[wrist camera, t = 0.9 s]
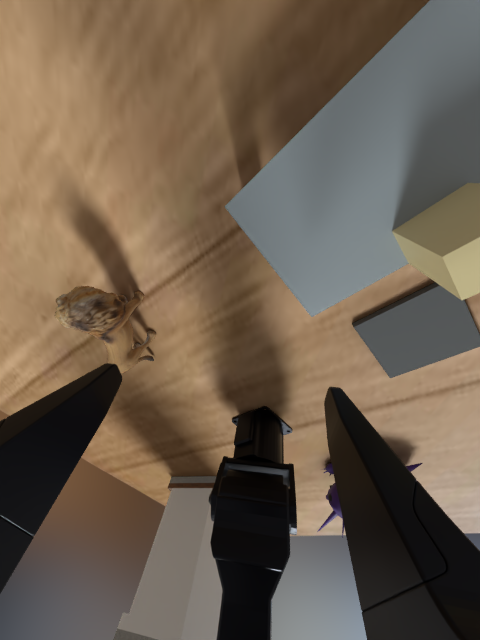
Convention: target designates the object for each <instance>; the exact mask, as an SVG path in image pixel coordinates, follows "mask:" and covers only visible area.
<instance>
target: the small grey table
mask: <svg viewBox="0 0 480 640" xmlns="http://www.w3.org/2000/svg"><path fill="white" fill-rule="evenodd" d="M225 208H226V209H227V210H228V212H229V213H230V214H231V216H232V217H233V218H234V219H235V221H236V222H237V223H238V224H239V226H240V227H241V228H242V229H243V231H244V232H245V233H246V235H247V236H248V237H249V238H250V240H251V241H252V242H253V243H254V245H255V246H256V247H257V249H258V250H259V251H260V252H261V254H262V255H263V256H264V257H265V259H266V260H267V261H268V262H269V264H270V265H271V266H272V268H273V269H274V270H275V271H276V273H277V274H278V275H279V276H280V278H281V279H282V280H283V281H284V283H285V284H286V285H287V287H288V288H289V289H290V290H291V292H292V293H293V294H294V295H295V297H296V298H297V299H298V300H299V302H300V303H301V304H302V306H303V307H304V308H305V309H306V311H307V312H308V313H309V314H310V316H311V317H313V316H315V315H317V314H318V313H320V312H322V311H324V310H326V309H327V308H329V307H331V306H333V305H335V304H336V303H338V302H340V301H342V300H344V299H345V298H347V297H349V296H351V295H353V294H354V293H356V292H358V291H360V290H362V289H363V288H365V287H367V286H369V285H371V284H372V283H374V282H376V281H378V280H380V279H381V278H383V277H385V276H387V275H389V274H390V273H392V272H394V271H396V270H398V269H400V268H401V267H403V266H405V265H407V264H410V265H412V266H413V267H414V268H416V269H417V270H419V271H420V272H422V273H423V274H424V275H426V276H427V277H429V278H430V279H432V280H433V281H435V282H436V283H437V284H439V285H440V286H442V287H443V288H445V289H446V290H447V291H449V292H450V293H452V294H453V295H455V296H456V297H458V298H459V299H460V300H464V299H466V298H469V297H471V296H473V295H475V294H478V293H480V0H430V1H429V2H428V3H427V4H426V5H425V6H424V7H423V8H422V9H421V10H420V11H419V12H418V13H417V14H416V15H415V16H414V17H413V18H412V19H411V20H410V21H409V22H408V23H407V24H406V25H405V26H404V27H403V28H402V29H401V30H400V31H399V32H398V33H397V34H396V35H395V36H394V37H393V38H392V39H391V40H390V41H389V42H388V43H387V44H386V45H385V46H384V47H383V48H382V49H381V50H380V51H379V52H378V53H377V54H376V55H375V56H374V57H373V58H372V59H371V60H370V61H369V62H368V63H367V64H366V65H365V66H364V67H363V68H362V69H361V70H360V71H359V72H358V73H357V74H356V75H355V76H354V77H353V78H352V79H351V80H350V81H349V82H348V83H347V84H346V85H345V86H344V87H343V88H342V89H341V90H340V91H339V92H338V93H337V94H336V95H335V96H334V97H333V98H332V99H331V100H330V101H329V102H328V103H327V104H326V105H325V106H324V107H323V108H322V109H321V110H320V111H319V112H318V113H317V114H316V115H315V116H314V117H313V118H312V119H311V120H310V121H309V122H308V123H307V124H306V125H305V126H304V127H303V128H302V129H301V130H300V131H299V132H298V133H297V134H296V135H295V136H294V137H293V138H292V139H291V140H290V141H289V142H288V143H287V144H286V145H285V146H284V147H283V148H282V149H281V150H280V151H279V152H278V153H277V154H276V155H275V156H274V157H273V158H272V159H271V161H270V162H269V163H268V164H267V165H266V166H265V167H264V168H263V169H262V170H261V171H260V172H259V173H258V174H257V175H256V176H255V177H254V178H253V179H252V180H251V181H250V182H249V183H248V184H247V185H246V186H245V187H244V188H243V189H242V190H241V191H240V192H239V193H238V194H237V195H236V196H235V197H234V198H233V199H232V200H231V201H230V202H229V203H228V204H227V205H226V206H225Z"/></svg>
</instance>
